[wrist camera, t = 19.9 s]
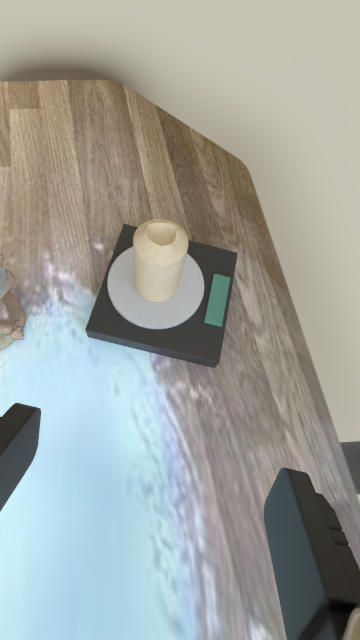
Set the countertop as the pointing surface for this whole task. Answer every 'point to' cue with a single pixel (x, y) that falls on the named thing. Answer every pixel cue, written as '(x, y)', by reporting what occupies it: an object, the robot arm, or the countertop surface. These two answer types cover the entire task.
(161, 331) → the kitchen scale
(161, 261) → the candle
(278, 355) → the countertop surface
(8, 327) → the figurine
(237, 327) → the countertop surface
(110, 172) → the countertop surface
